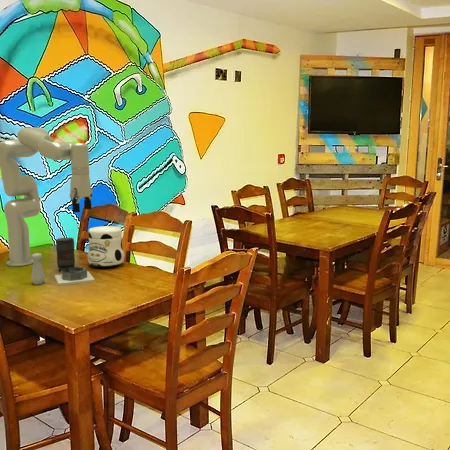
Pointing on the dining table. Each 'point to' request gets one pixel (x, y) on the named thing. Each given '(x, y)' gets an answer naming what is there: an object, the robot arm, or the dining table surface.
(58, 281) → the holder board
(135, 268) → the dining table surface
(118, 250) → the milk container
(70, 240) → the camera lens
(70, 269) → the holder ring
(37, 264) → the salt shaker
